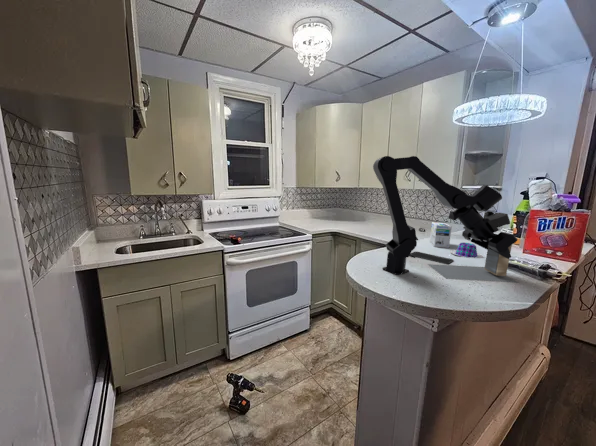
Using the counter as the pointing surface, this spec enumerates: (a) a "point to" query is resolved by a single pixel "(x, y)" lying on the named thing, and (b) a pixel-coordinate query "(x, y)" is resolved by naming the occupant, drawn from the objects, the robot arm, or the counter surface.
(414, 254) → the phone
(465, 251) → the purple checkered dome
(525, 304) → the counter surface
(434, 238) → the light bulb box
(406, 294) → the counter surface
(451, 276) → the rubber mat
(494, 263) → the maple block
